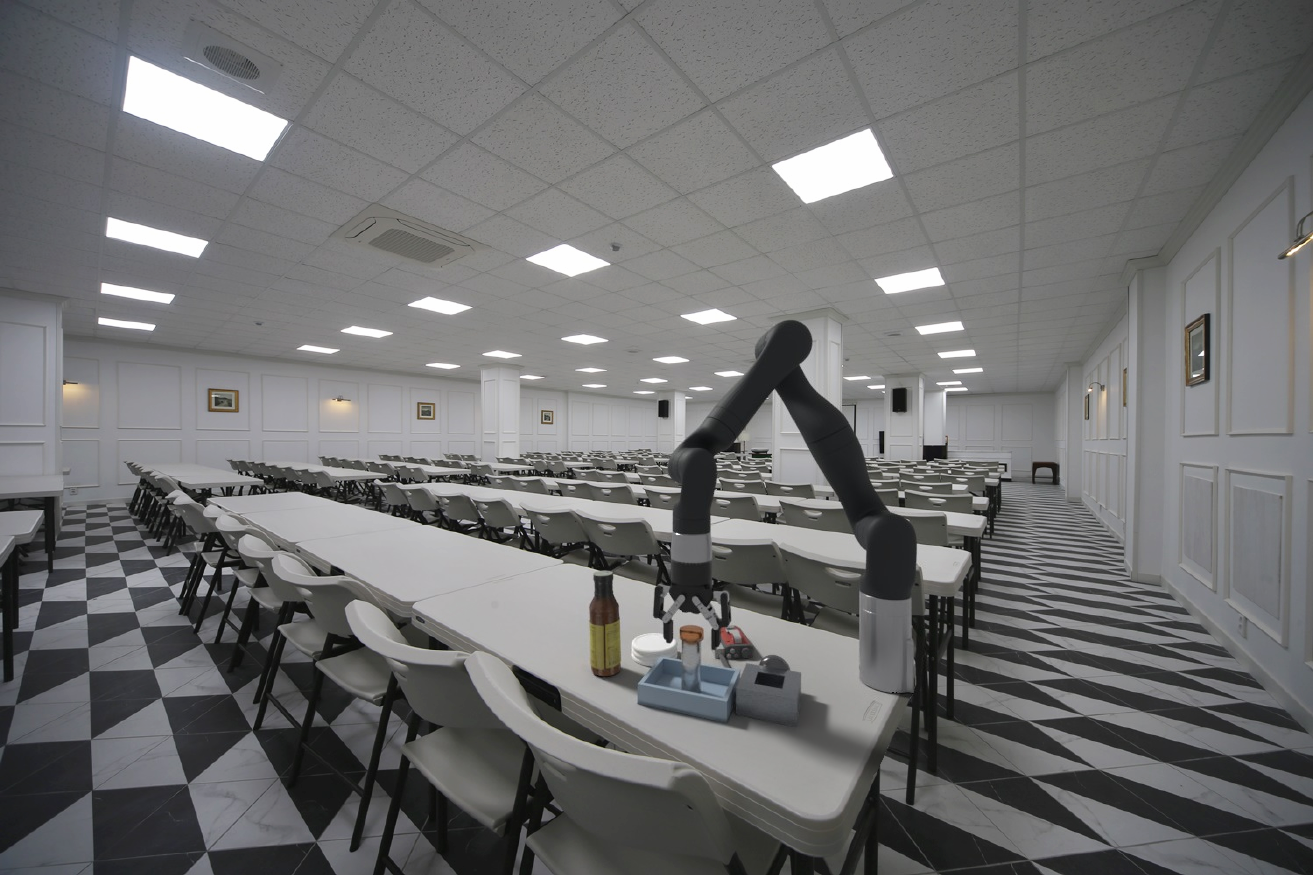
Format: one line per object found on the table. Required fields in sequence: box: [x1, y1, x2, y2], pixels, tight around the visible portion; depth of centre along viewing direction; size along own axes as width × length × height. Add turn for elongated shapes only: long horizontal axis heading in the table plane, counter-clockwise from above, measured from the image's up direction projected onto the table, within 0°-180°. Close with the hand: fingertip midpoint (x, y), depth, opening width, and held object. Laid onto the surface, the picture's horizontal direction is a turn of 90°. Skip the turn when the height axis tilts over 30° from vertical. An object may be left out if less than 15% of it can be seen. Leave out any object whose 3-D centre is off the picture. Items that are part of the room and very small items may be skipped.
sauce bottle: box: [588, 570, 622, 677], centre depth 97 cm, size 6×6×20 cm
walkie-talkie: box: [711, 625, 755, 668], centre depth 105 cm, size 9×4×20 cm
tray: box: [637, 656, 741, 724], centre depth 87 cm, size 16×12×4 cm
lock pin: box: [679, 624, 705, 694], centre depth 87 cm, size 4×4×12 cm
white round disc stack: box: [630, 632, 678, 667], centre depth 103 cm, size 10×10×4 cm
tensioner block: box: [735, 654, 802, 728], centre depth 85 cm, size 10×12×6 cm
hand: (691, 645), depth 87 cm, fingers open, 8 cm apart
